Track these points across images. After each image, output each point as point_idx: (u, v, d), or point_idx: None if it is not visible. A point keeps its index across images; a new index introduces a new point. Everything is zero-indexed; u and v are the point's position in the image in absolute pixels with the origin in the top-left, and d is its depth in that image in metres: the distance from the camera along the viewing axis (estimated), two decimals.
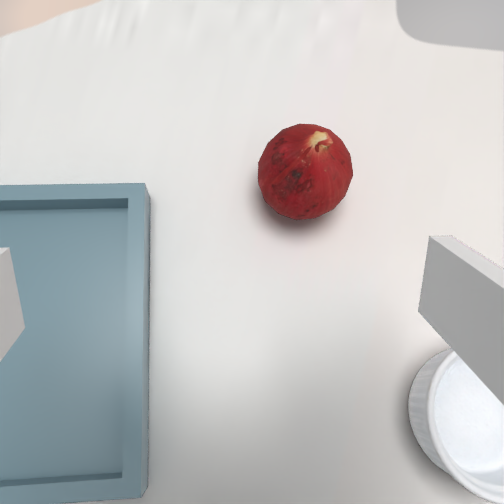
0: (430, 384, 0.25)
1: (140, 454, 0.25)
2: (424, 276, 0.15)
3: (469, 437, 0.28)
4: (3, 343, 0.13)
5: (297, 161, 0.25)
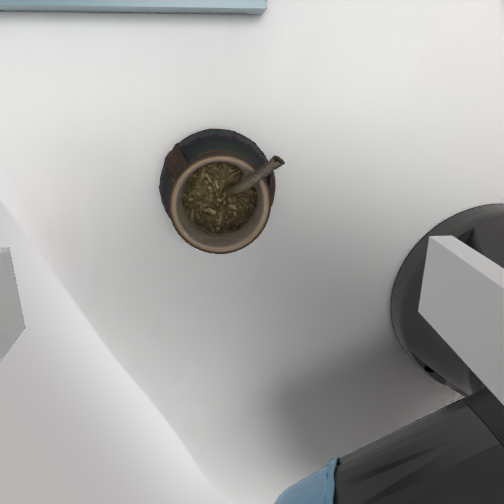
0: None
1: None
2: (424, 276, 0.15)
3: None
4: (3, 343, 0.13)
5: None
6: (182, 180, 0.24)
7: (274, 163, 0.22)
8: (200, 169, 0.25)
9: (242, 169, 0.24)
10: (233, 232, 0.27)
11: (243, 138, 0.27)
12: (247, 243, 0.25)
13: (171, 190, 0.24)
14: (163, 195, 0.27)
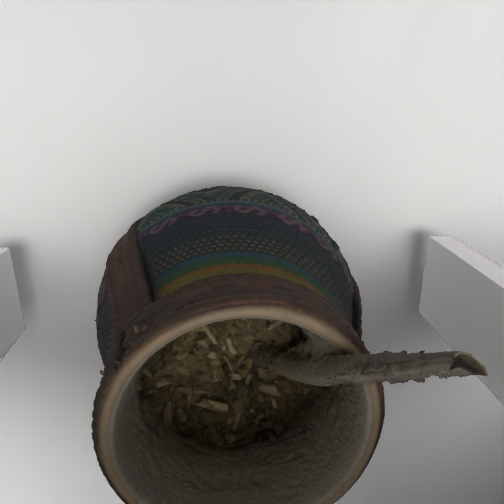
0: None
1: None
2: (424, 276, 0.15)
3: None
4: (3, 343, 0.13)
5: None
6: (130, 377, 0.08)
7: (448, 370, 0.06)
8: None
9: (306, 329, 0.08)
10: (270, 448, 0.11)
11: (293, 214, 0.11)
12: None
13: (98, 402, 0.08)
14: (101, 349, 0.11)
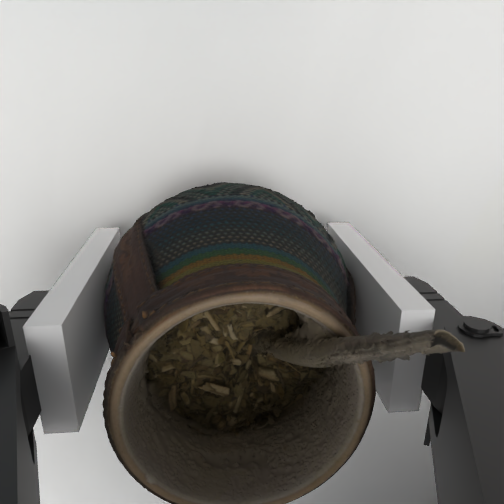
0: None
1: None
2: None
3: None
4: None
5: None
6: (139, 358, 0.08)
7: (429, 347, 0.07)
8: None
9: (302, 315, 0.09)
10: (269, 430, 0.11)
11: (290, 209, 0.12)
12: (310, 490, 0.10)
13: (108, 382, 0.09)
14: (108, 337, 0.12)
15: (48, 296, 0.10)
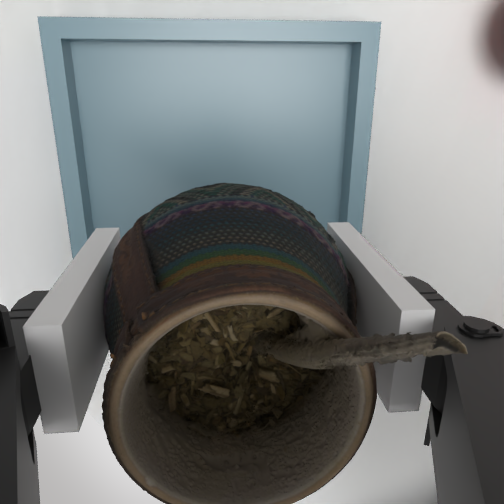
0: None
1: None
2: None
3: None
4: None
5: None
6: (138, 360, 0.08)
7: (431, 350, 0.07)
8: None
9: (303, 316, 0.09)
10: (269, 432, 0.11)
11: (291, 209, 0.12)
12: (310, 492, 0.10)
13: (108, 383, 0.08)
14: (108, 339, 0.12)
15: (48, 295, 0.10)
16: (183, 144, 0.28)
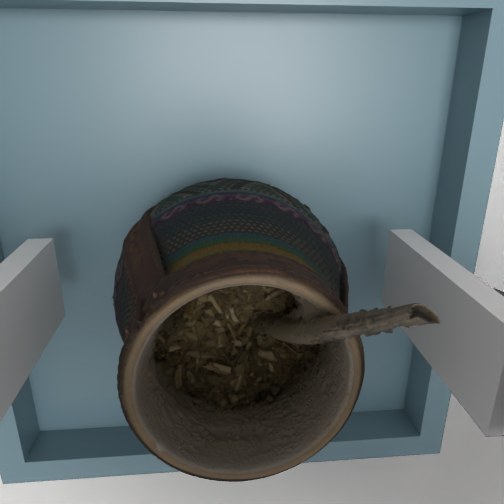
0: None
1: (445, 413, 0.19)
2: (386, 268, 0.16)
3: None
4: (49, 328, 0.14)
5: None
6: (150, 335, 0.09)
7: (408, 320, 0.08)
8: None
9: (298, 296, 0.10)
10: (267, 407, 0.12)
11: (287, 202, 0.13)
12: (305, 459, 0.11)
13: (122, 356, 0.09)
14: (118, 322, 0.13)
15: None
16: (165, 189, 0.16)
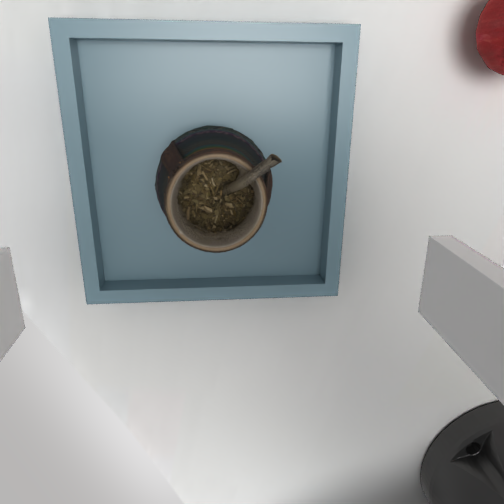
0: None
1: (339, 269, 0.33)
2: (424, 276, 0.15)
3: None
4: (2, 343, 0.13)
5: None
6: (178, 178, 0.23)
7: (272, 162, 0.22)
8: (196, 166, 0.25)
9: (239, 167, 0.24)
10: (229, 230, 0.26)
11: (240, 135, 0.27)
12: (243, 242, 0.25)
13: (166, 188, 0.23)
14: (159, 193, 0.27)
15: None
16: (180, 135, 0.30)
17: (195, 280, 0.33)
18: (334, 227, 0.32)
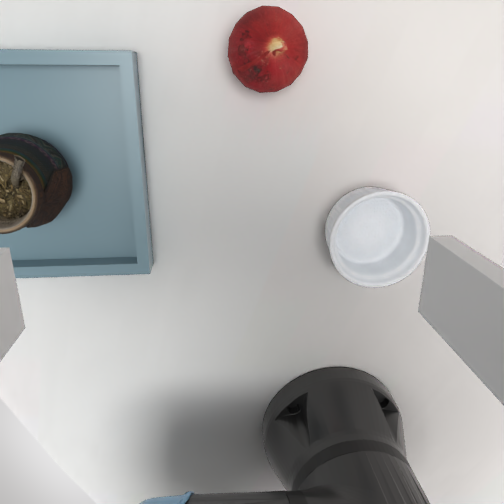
0: (335, 221, 0.38)
1: (147, 251, 0.39)
2: (424, 276, 0.15)
3: (361, 243, 0.43)
4: (3, 343, 0.13)
5: (258, 60, 0.31)
6: None
7: (18, 161, 0.28)
8: None
9: (12, 166, 0.30)
10: (21, 217, 0.33)
11: (32, 140, 0.33)
12: (22, 225, 0.31)
13: None
14: None
15: None
16: None
17: (30, 261, 0.40)
18: (137, 216, 0.38)
